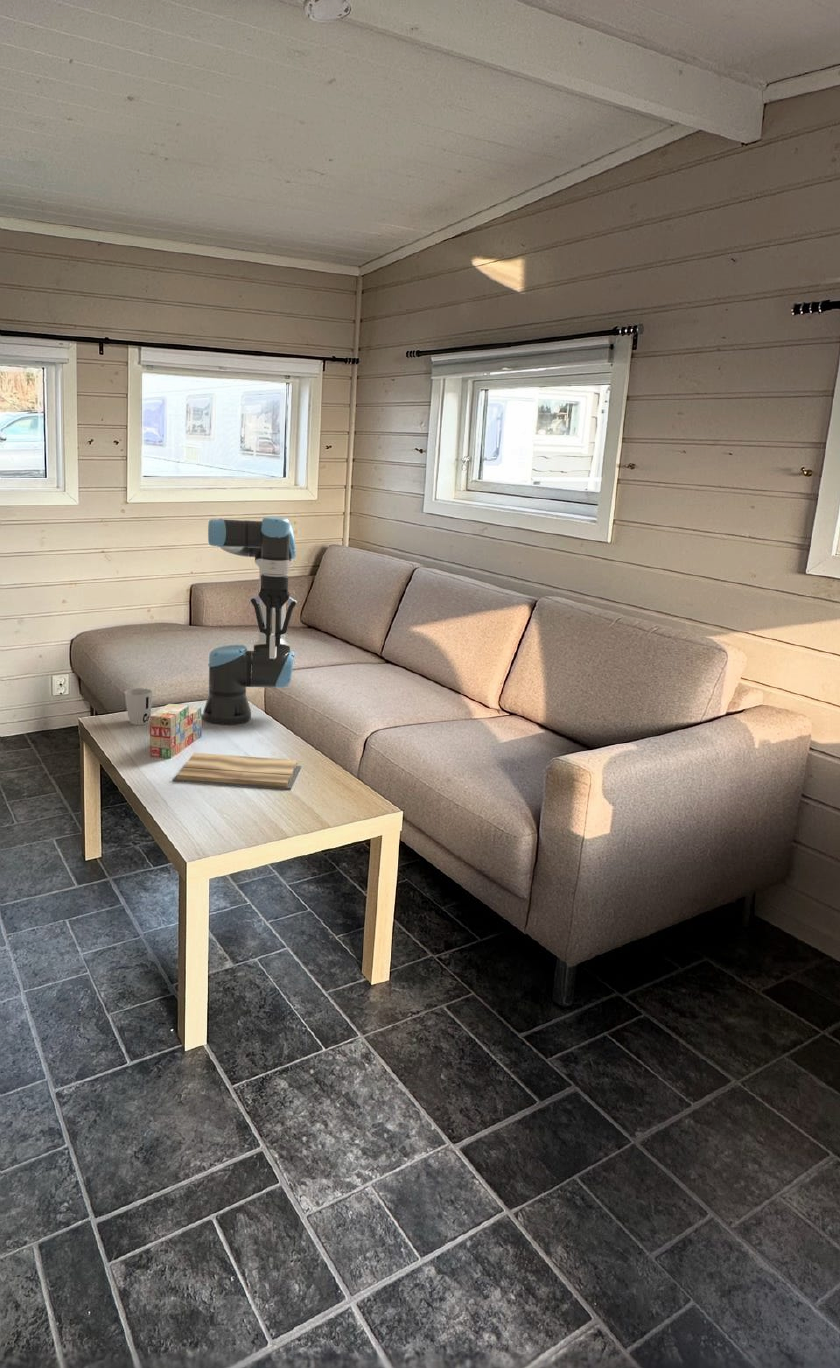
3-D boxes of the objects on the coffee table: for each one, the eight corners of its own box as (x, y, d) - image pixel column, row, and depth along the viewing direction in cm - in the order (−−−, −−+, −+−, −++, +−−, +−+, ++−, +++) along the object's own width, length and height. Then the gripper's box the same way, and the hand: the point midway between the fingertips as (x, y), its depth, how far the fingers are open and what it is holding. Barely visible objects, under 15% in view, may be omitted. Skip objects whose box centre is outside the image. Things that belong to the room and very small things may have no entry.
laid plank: (183, 771, 243) (182, 767, 243) (290, 779, 243) (290, 775, 242) (176, 779, 238) (176, 774, 238) (287, 787, 237) (287, 782, 237)
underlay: (190, 759, 254) (190, 758, 254) (301, 767, 253) (301, 765, 253) (172, 781, 238) (172, 779, 237) (290, 789, 237) (290, 788, 237)
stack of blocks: (182, 734, 275) (182, 695, 272) (201, 736, 274) (201, 697, 271) (149, 756, 255) (149, 714, 252) (170, 759, 254) (170, 717, 251)
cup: (148, 727, 279) (147, 696, 277) (121, 725, 279) (121, 694, 277) (156, 719, 287) (155, 689, 284) (130, 717, 287) (129, 687, 284)
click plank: (194, 756, 253) (193, 752, 253) (297, 764, 253) (297, 760, 252) (183, 771, 244) (183, 766, 244) (291, 778, 243) (291, 774, 243)
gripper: (248, 574, 247) (247, 659, 253) (295, 577, 247) (293, 662, 253) (254, 571, 254) (252, 653, 260) (300, 574, 254) (298, 656, 260)
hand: (272, 657), depth 257 cm, fingers closed
